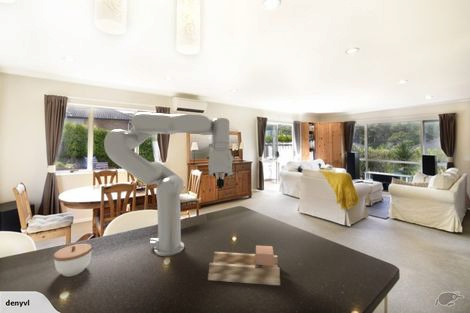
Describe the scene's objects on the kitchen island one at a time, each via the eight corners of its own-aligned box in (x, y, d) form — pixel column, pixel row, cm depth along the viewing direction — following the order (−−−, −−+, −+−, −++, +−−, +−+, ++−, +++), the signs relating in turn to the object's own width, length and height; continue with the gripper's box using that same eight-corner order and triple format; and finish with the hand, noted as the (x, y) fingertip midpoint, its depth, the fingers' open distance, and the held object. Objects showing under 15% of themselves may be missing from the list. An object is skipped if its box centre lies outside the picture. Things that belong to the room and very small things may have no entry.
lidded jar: (55, 269, 76) (54, 244, 75) (91, 260, 82) (90, 236, 82) (52, 285, 67) (52, 256, 67) (92, 273, 74) (92, 247, 73)
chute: (208, 279, 70) (208, 266, 70) (215, 260, 82) (215, 249, 82) (280, 285, 68) (280, 271, 67) (276, 265, 80) (276, 252, 79)
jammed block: (255, 273, 71) (255, 253, 71) (255, 263, 77) (256, 245, 77) (273, 274, 71) (273, 254, 71) (272, 264, 77) (272, 246, 76)
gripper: (201, 146, 89) (201, 189, 89) (236, 146, 87) (236, 190, 88) (206, 146, 96) (206, 186, 97) (238, 146, 94) (238, 186, 95)
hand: (220, 187), depth 92 cm, fingers closed
